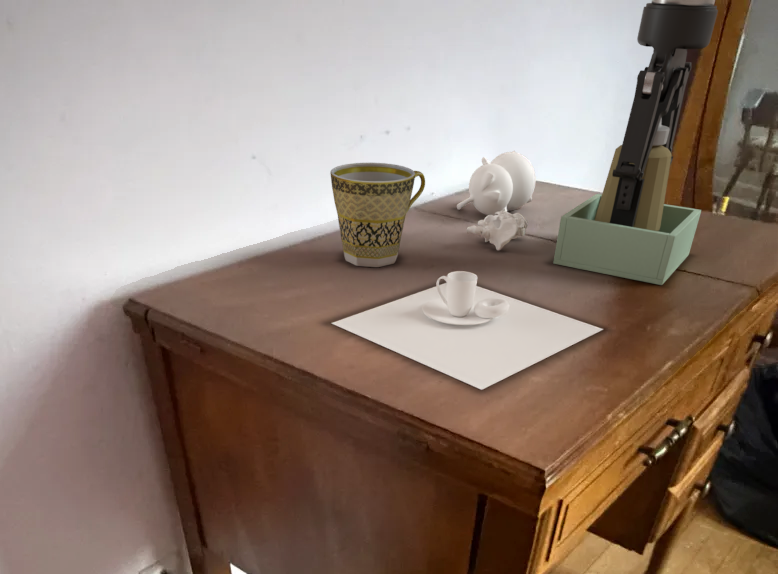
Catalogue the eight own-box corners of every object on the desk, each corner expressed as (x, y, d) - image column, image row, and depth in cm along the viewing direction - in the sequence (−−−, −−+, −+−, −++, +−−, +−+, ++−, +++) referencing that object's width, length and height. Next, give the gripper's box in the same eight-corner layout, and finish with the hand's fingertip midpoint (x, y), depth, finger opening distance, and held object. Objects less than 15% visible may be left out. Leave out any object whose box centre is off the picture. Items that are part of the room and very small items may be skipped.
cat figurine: (489, 149, 98) (534, 134, 105) (434, 183, 106) (479, 167, 113) (512, 212, 101) (554, 194, 108) (456, 241, 109) (499, 222, 116)
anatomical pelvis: (488, 202, 98) (535, 205, 96) (487, 235, 101) (533, 238, 98) (465, 215, 93) (514, 218, 90) (464, 249, 95) (512, 253, 92)
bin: (688, 255, 94) (701, 209, 91) (661, 285, 85) (675, 236, 81) (588, 237, 100) (596, 193, 96) (552, 263, 90) (561, 216, 87)
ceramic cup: (362, 277, 85) (363, 185, 79) (316, 254, 91) (314, 168, 85) (445, 258, 91) (452, 171, 85) (397, 238, 97) (400, 156, 91)
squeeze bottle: (576, 246, 94) (606, 85, 83) (629, 242, 96) (666, 84, 85) (609, 266, 88) (647, 95, 77) (665, 261, 90) (710, 93, 79)
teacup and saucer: (518, 317, 76) (523, 279, 74) (469, 338, 72) (474, 298, 69) (455, 295, 81) (458, 258, 78) (406, 313, 77) (408, 274, 74)
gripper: (670, -3, 84) (623, 205, 98) (617, 2, 70) (571, 243, 84) (738, 0, 81) (679, 214, 95) (696, 6, 67) (635, 255, 81)
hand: (629, 228), depth 90 cm, fingers closed on squeeze bottle, 8 cm apart
